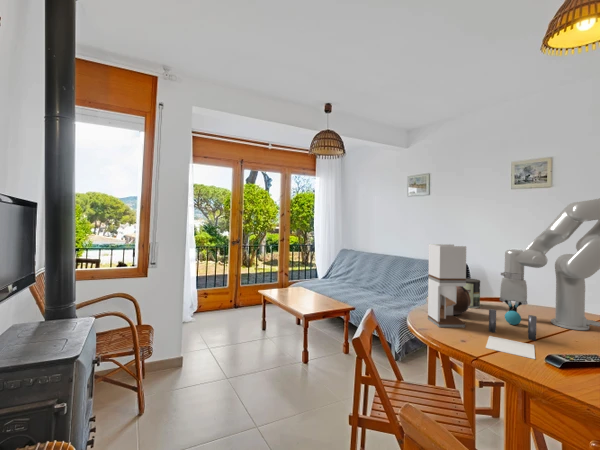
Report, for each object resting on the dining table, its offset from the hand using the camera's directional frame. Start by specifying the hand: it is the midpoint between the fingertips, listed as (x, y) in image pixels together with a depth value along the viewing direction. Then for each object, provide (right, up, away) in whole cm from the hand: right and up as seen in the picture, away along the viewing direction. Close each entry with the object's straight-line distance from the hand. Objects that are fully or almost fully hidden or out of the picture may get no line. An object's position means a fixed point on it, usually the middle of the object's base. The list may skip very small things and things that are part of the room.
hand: (512, 314), depth 139 cm
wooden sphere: (-25, -2, +7) cm, 26 cm away
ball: (-6, +1, -8) cm, 10 cm away
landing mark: (-24, -2, -32) cm, 40 cm away
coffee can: (-8, -2, +22) cm, 23 cm away
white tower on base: (-35, -2, -7) cm, 36 cm away
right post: (-10, -2, -25) cm, 27 cm away
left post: (-21, -2, -17) cm, 27 cm away
